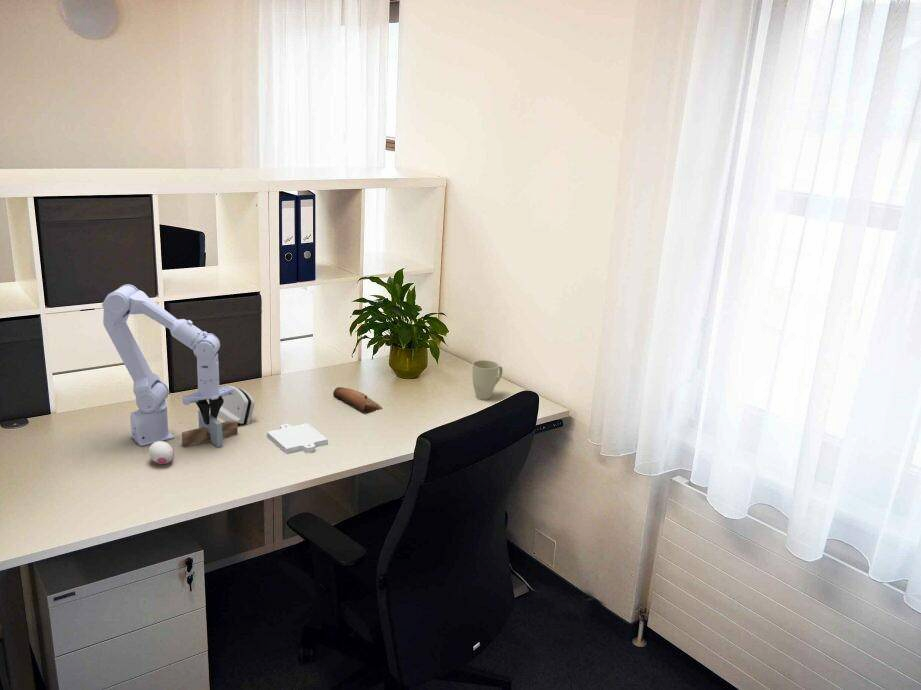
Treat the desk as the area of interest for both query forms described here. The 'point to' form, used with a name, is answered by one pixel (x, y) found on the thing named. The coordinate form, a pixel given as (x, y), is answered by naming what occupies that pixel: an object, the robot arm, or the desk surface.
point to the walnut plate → (202, 435)
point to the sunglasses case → (356, 399)
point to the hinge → (237, 406)
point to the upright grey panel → (212, 429)
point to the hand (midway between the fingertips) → (210, 422)
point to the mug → (485, 378)
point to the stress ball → (161, 452)
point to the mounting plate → (297, 438)
